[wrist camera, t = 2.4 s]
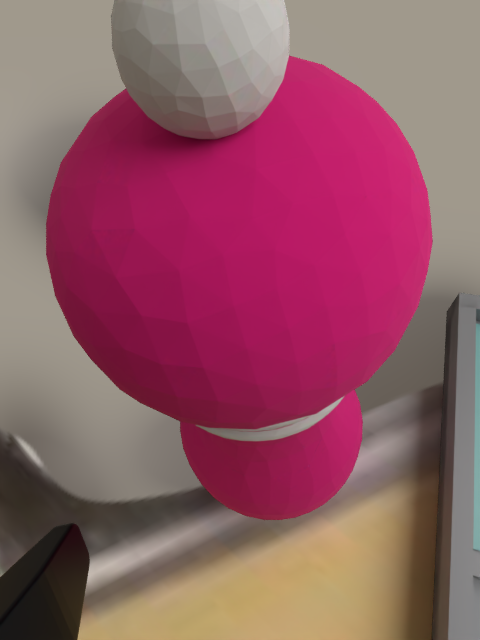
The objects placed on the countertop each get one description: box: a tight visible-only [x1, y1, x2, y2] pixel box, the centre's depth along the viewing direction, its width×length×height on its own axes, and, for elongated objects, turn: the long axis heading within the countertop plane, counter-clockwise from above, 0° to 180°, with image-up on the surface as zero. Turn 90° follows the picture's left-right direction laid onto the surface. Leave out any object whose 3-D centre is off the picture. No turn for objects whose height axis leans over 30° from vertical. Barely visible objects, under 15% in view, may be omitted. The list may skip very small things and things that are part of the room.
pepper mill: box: [46, 0, 433, 520], centre depth 12 cm, size 7×7×20 cm
